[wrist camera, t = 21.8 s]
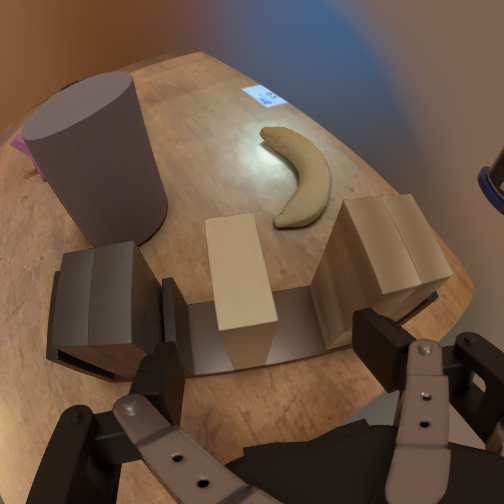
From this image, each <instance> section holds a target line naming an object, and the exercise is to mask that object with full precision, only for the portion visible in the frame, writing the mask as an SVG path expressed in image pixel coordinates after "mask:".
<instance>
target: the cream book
mask: <svg viewBox="0 0 504 504" xmlns="http://www.w3.org/2000/svg"><path fill="white" fill-rule="evenodd" d="M204 222H205V231H206V240H207V249H208V257H209V265H210V273H211V281H212V288H213V295H214V303H215V310H216V317H217V323H218V330H219V333H220V335H221V338H222V340H223V343H224V345H225V348H226V350H227V353H228V356H229V358H230V360H231V363H232V365H233V368H234V370H238V369H244V368H250V367H256V366H261V365H265V364H266V361H267V357H268V354H269V351H270V347H271V344H272V340H273V337H274V334H275V330H276V327H277V323H278V316H277V312H276V308H275V303H274V299H273V295H272V291H271V286H270V282H269V278H268V274H267V270H266V265H265V261H264V257H263V253H262V249H261V245H260V241H259V236H258V232H257V228H256V224H255V220H254V216H253V213H252V212H251V213H244V214H237V215H231V216H224V217H217V218H211V219H205V220H204Z"/></svg>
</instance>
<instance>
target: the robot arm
mask: <svg viewBox="0 0 504 504" xmlns="http://www.w3.org/2000/svg"><path fill="white" fill-rule="evenodd" d="M486 177H487V180H488V183H489V185H490V186H491V188H492V189H493V191H494V192H495V193H496V195H497V196H498V197H499V198H500V199H501V200H502V201H503V202H504V146H503V148H502V150H501V151H500V153H499V155H498V156H497V158H496V160H495V161H494V163H493V165H492V166H491V168H490V169H489V170H488V171H487V173H486ZM352 346H353V350H354V352H355V353H356V354H357V356H358V357H359V358H360V359H361V360H362V362H363V363H364V364H365V365H366V367H367V368H368V369H369V370H370V372H371V373H372V374H373V375H374V376H375V378H376V379H377V380H378V381H379V383H380V384H381V385H382V386H383V388H384V389H385V390H386V391H387V392H388V393H391V392H394V391H396V390H399V391H400V394H399V398H398V403H397V408H396V413H395V419H394V423H393V426H390V425H371V426H369V424H368V423H367V421H366V420H365V419H361V420H359V421H356V422H353V423H349V424H346V425H343V426H340V427H337V428H335V429H333V430H331V431H329V432H327V433H325V434H323V435H321V436H319V437H317V438H315V439H313V440H311V441H307V442H275V443H269V444H263V445H257V446H251V447H244V448H243V451H244V456H243V457H240V458H237V459H235V460H233V461H231V462H229V463H227V464H225V465H224V466H223V465H222V464H221V463H220V462H219V461H217V460H216V459H215V458H214V457H213V456H211V455H210V454H209V453H208V452H207V451H206V450H204V449H203V448H202V447H201V446H200V445H199V444H198V443H197V442H196V441H194V440H193V439H192V438H191V437H190V436H189V435H188V434H187V433H186V432H185V431H184V430H183V429H182V428H181V427H180V420H181V411H182V402H183V393H184V385H185V377H184V371H183V368H182V364H181V361H180V357H179V354H178V350H177V347H176V344H175V342H174V341H170V342H159V343H157V344H156V347H155V350H154V353H153V354H147V355H146V356H145V357H144V358H143V359H142V360H141V362H140V364H139V367H138V370H137V372H136V376H135V377H134V380H133V383H132V386H131V388H130V391H129V394H128V395H126V396H123V397H121V398H120V399H118V400H117V401H116V402H115V403H114V405H113V409H112V411H108V412H103V413H98V414H93V412H92V410H91V409H90V408H89V407H88V406H85V405H75V406H72V407H69V408H68V409H66V410H65V411H64V412H63V413H62V415H61V417H60V419H59V421H58V423H57V425H56V427H55V430H54V432H53V434H52V436H51V439H50V441H49V443H48V446H47V448H46V450H45V453H44V455H43V458H42V460H41V463H40V465H39V468H38V470H37V473H36V476H35V478H34V481H33V484H32V487H31V489H30V492H29V495H28V498H27V501H26V504H116V500H117V493H118V486H119V479H120V473H121V467H122V463H127V462H132V461H136V460H142V461H143V462H144V464H145V465H146V466H147V468H148V469H149V470H150V471H151V473H152V474H153V475H154V477H155V478H156V479H157V480H158V481H159V483H160V484H161V485H162V486H163V487H164V489H165V490H166V491H167V492H168V493H169V495H170V496H171V497H172V498H173V499H174V500H175V502H176V503H177V504H504V353H503V352H502V351H501V350H499V349H498V348H497V347H495V346H494V345H493V344H491V343H490V342H489V341H487V340H486V339H484V338H483V337H482V336H480V335H479V334H476V333H473V332H463V333H460V334H459V335H458V336H457V337H456V341H455V345H452V346H446V347H441V346H440V345H439V344H438V343H437V342H436V341H433V340H430V339H418V340H417V339H416V338H414V337H413V336H412V335H411V334H409V333H408V332H407V331H406V330H404V329H403V328H402V327H401V326H399V325H398V324H397V323H396V322H395V321H393V320H392V319H391V318H389V317H386V316H383V315H379V314H377V313H376V312H375V311H374V310H373V309H371V308H370V307H368V308H364V309H360V310H356V311H354V312H353V319H352ZM475 373H476V374H477V375H479V376H480V377H481V378H482V379H483V380H484V382H485V385H486V390H485V393H484V392H483V391H482V390H481V389H480V388H479V387H478V386H476V384H474V383H473V382H472V380H473V377H474V375H475ZM449 402H450V404H451V405H452V406H453V407H454V408H455V409H456V410H457V412H458V413H459V414H460V415H461V416H462V417H463V419H465V421H466V422H467V423H468V424H469V426H470V427H471V428H472V429H473V430H474V432H475V433H476V434H477V435H478V436H479V438H480V439H481V440H482V441H483V442H484V443H485V449H486V450H483V449H478V448H473V447H469V446H464V445H460V444H456V443H452V442H448V433H449Z"/></svg>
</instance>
